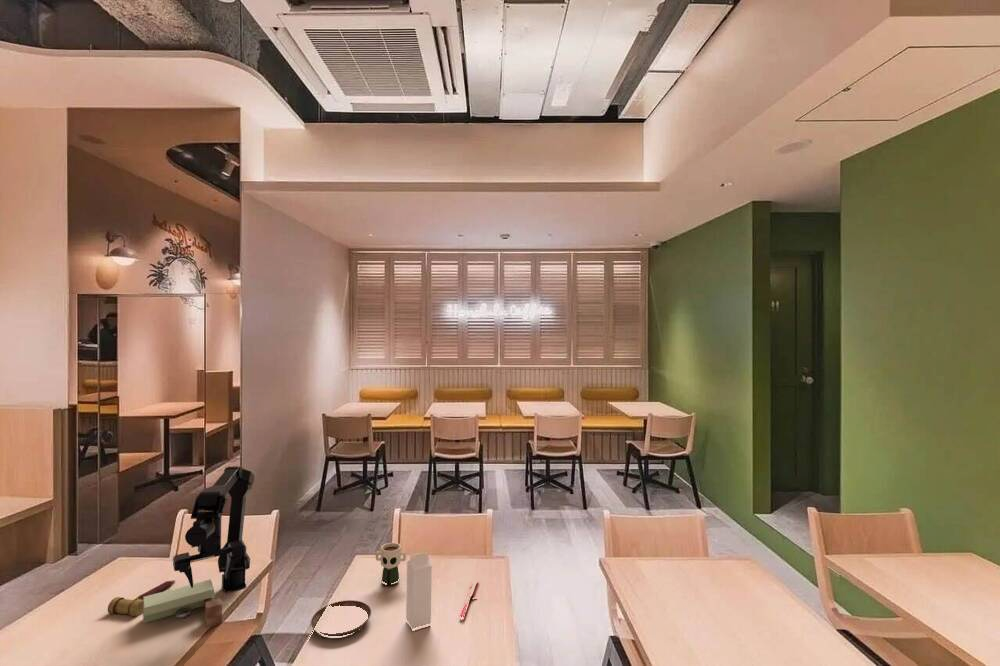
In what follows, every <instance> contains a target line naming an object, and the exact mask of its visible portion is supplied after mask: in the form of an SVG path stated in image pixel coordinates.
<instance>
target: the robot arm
mask: <svg viewBox="0 0 1000 666" xmlns="http://www.w3.org/2000/svg"><path fill="white" fill-rule="evenodd" d="M223 470H224V471H223V473H222V474H221V475H220V477H218V479H217V480H216V482H214V483H213V485H212V486H209V487H207V488H204V489H203V490H202V491H200V492H199V494H198V495H197V496H196V498H195V501H194V504H193V505H194V506H193V508H192V511H191V512H192V513H191V515H190V520H195V521H193V523H192V526H190V528H188V530H187V531H186V533H185V535H184V539H185V541H186V543H187V545H188V546H190V547H191V548H192V549H193V548H197V552H198V553H197V554H192V555H190V553H189V551H188V552H183V553H179V554H178V553H177V554H174V556H173V557H172V567H173V570H174V572H179V573H180V574H182V573H184V575H185V576H186V578H187V579H188V583H189V585H190V586H191V588H193V584H194V579H193V571H192V569H193V568H192V565H191V563H195V562H200V561H203V560H207V559H212V558H216V557H218V559H217V568H218V572H219V573H223V574H222V575H221V588H222V590H224V592H225V593H230V592H233V591H236V590H237V591H238V590H241V589H244V588H247V583H246V571H247V570H248V569H250V567H251V566H250V565H251V557H250V555H249V554H248V553H247V546H246V544H245V542H244V541H243V532H244V531H243V530H244V522H245V521H244V520H245V511H246V502H247V501H246V500H247V496H248V495H249V493H250V492H251V490H253V485H254V482H255V475H254V473H253V472H252V471H250V470H249V469H245V468H243V467H242V466H240V465H237V466H233V465H232V466H226V467H224V469H223ZM228 494H229V496H230V498H231V499H230V507H229V508H230V509H229V519H228V528H227V529H228V530H227V539H226V542H225V545H223V547H222V514H223V513H224V511H225V508H226V505H227V503H228V497H227V495H228Z"/></svg>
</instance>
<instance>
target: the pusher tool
mask: <svg viewBox="0 0 1000 666" xmlns="http://www.w3.org/2000/svg"><path fill="white" fill-rule="evenodd" d="M203 607H204V609H205V610H204V624H205V626H206V627H205V628H206V629H207V628H211V627H215V626H217V625H221V624H222V623H223V603H222V600H221V598H220V597H219V598H215V599H213V597H211V598H208V599H205V604H204V606H203Z"/></svg>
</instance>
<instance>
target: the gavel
mask: <svg viewBox="0 0 1000 666" xmlns="http://www.w3.org/2000/svg"><path fill="white" fill-rule="evenodd" d="M175 583H176V580H175V579H173V580H166V581H164V582H162V583H160V584H159V585H157V586H155V587H153V588H151V589H149V590H148V591H146V592H144V593H142V594H140V595H139V596H137V597H136V598H134V599H129V598H125V597H120V596H116V597H113V599H112V600H110V601H109V603H108V605H107V613H109V614H111V615H112V614H113V615H117V614H124V615H130V616H132V617H140V616H142V615H143V597H145V596H149V595H153V594H156V593H160V592H164V591H168V590H169V589H170V588H171V587H172V585H174V584H175Z"/></svg>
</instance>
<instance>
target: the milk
mask: <svg viewBox="0 0 1000 666" xmlns="http://www.w3.org/2000/svg"><path fill="white" fill-rule="evenodd" d="M429 553H430V552H429V551H424V552H423V551H422V552H420V553H415V554H411V555H410V556H409V560H408V561H407V562H406V604H405V606H406V607H405V609H406V610H405V615H406V616H405V620H406V619H407V621H408V622H409V624H410V626H411V627H412V629H413V628H416V627H419V626H423V625H426V624H430V623H431V622H432V620H431V619H432V573H433V572H432V571H433V569H432V567H433V565H432V562H431V560H430V557H429ZM431 624H432V623H431Z"/></svg>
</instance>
